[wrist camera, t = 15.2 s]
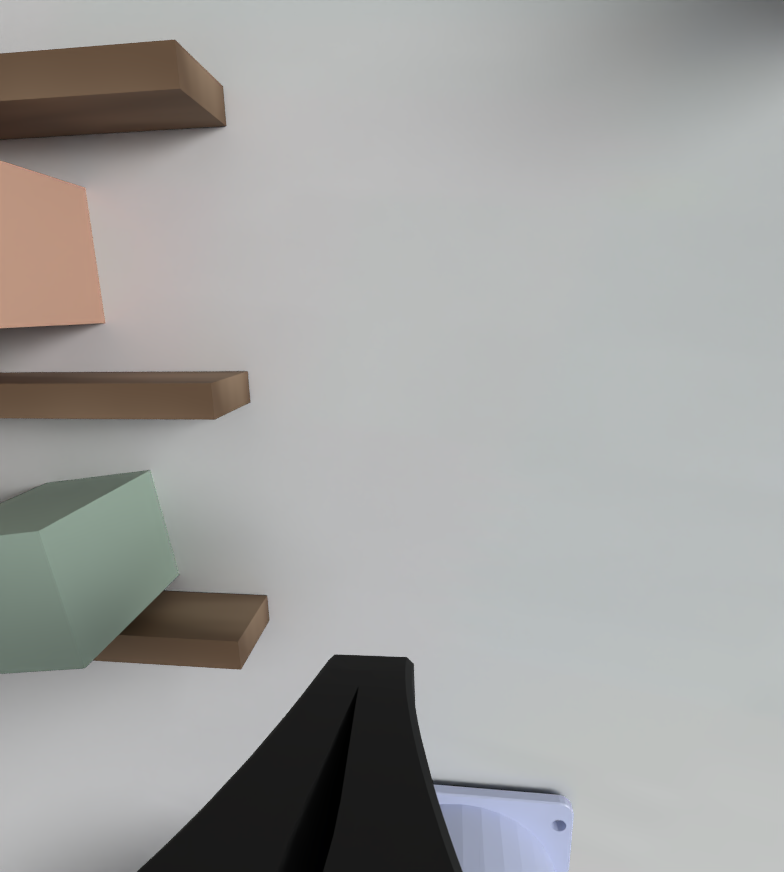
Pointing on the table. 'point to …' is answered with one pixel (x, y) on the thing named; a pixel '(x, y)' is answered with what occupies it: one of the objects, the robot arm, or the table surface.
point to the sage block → (78, 568)
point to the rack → (132, 391)
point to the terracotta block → (45, 252)
